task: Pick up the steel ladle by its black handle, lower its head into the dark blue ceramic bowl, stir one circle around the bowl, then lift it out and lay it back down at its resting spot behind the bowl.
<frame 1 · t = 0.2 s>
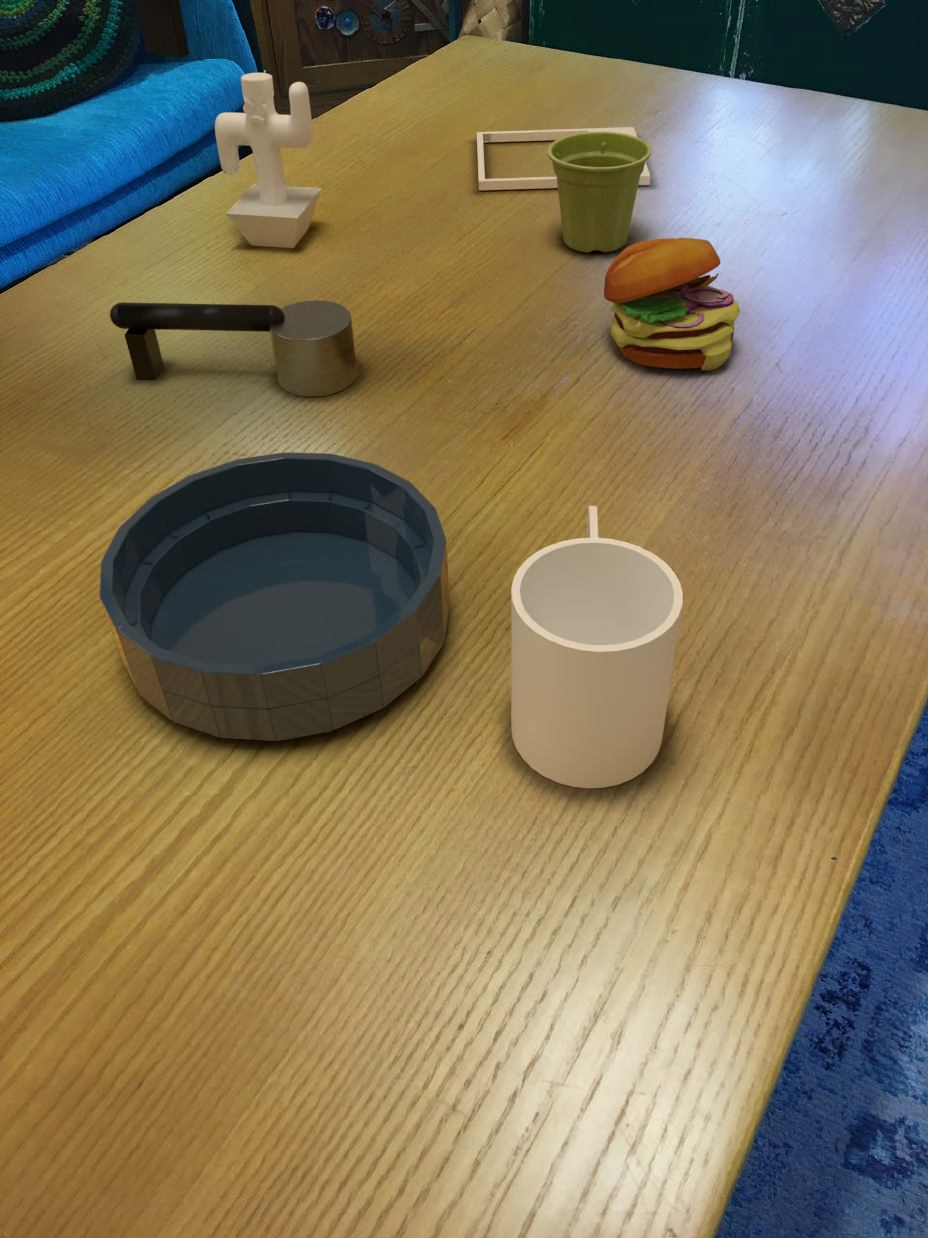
hand: (248, 24, 65), 27 cm above the table, tool pointing down, fingers open, 13 cm apart
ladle: (317, 376, 86), on the table
cheeseburger: (665, 348, 88), on the table
figurine: (280, 239, 106), on the table
photo frame: (559, 163, 117), on the table
bowl: (289, 626, 65), on the table
plant pot: (594, 242, 103), on the table
cup: (585, 704, 60), on the table
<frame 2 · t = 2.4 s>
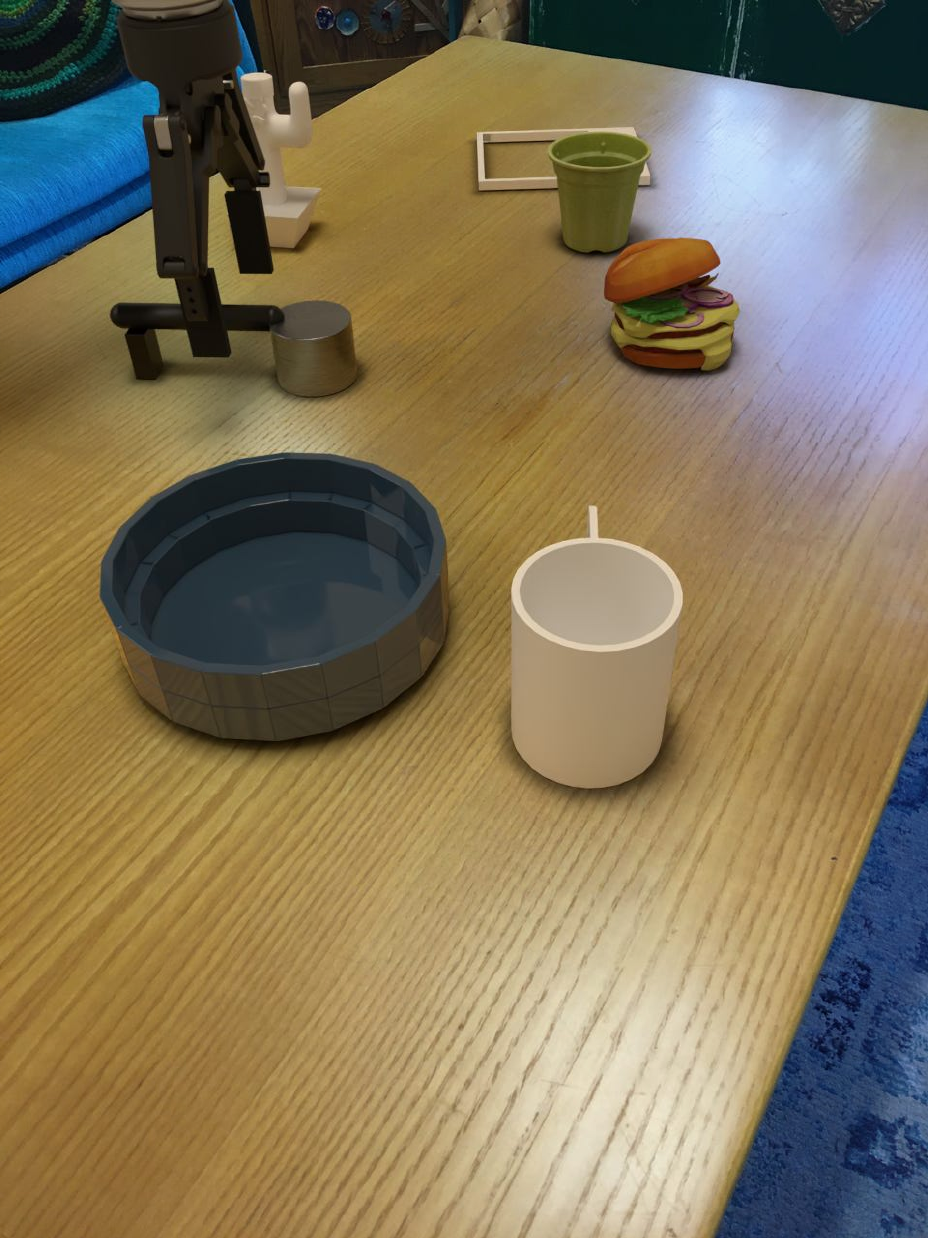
hand: (236, 311, 82), 6 cm above the table, tool pointing down, fingers open, 13 cm apart
nothing on the table moved.
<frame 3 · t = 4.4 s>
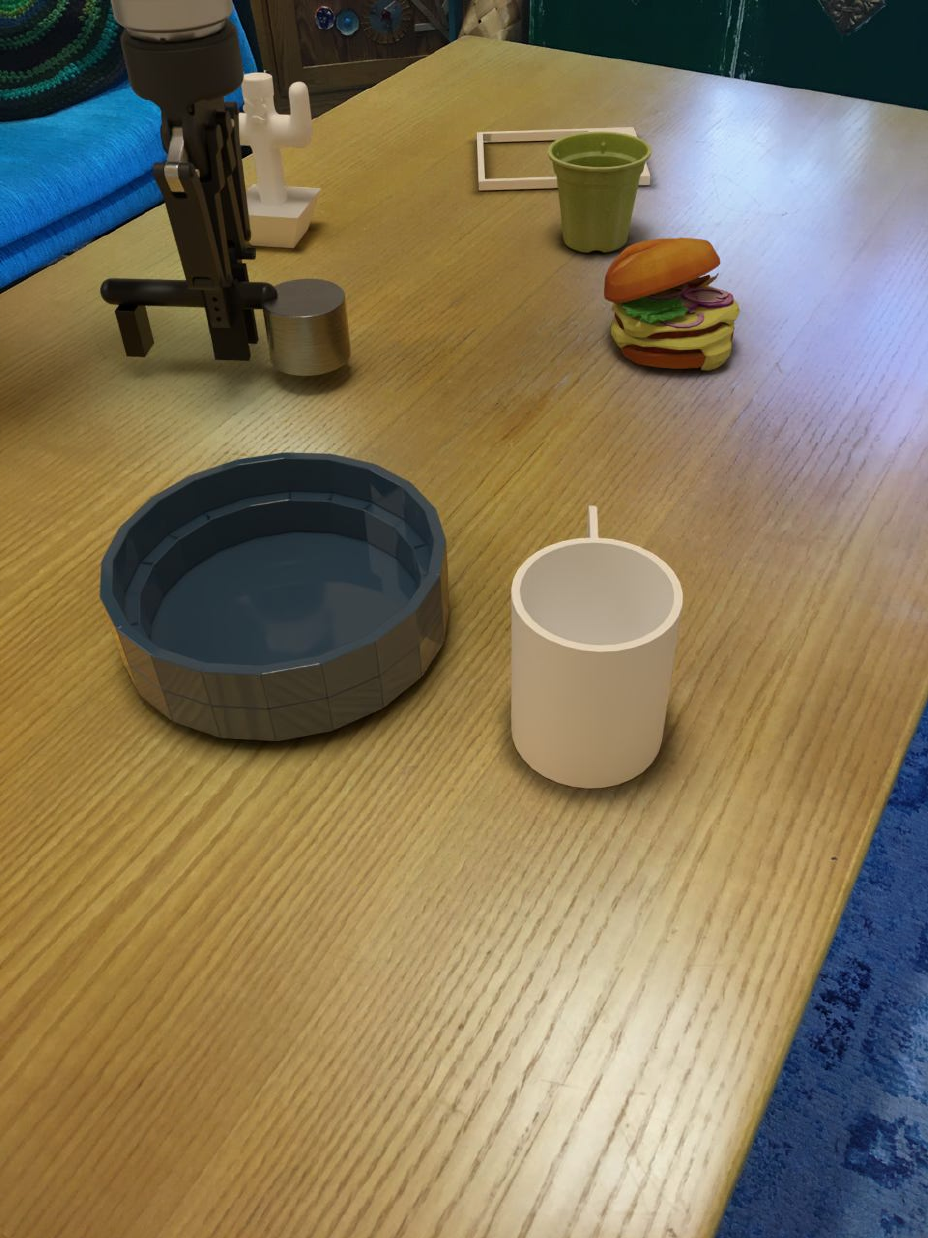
hand: (237, 349, 85), 2 cm above the table, tool pointing down, fingers closed on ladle, 2 cm apart
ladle: (310, 355, 85), point 2 cm above the table, touching gripper
everything else where it was.
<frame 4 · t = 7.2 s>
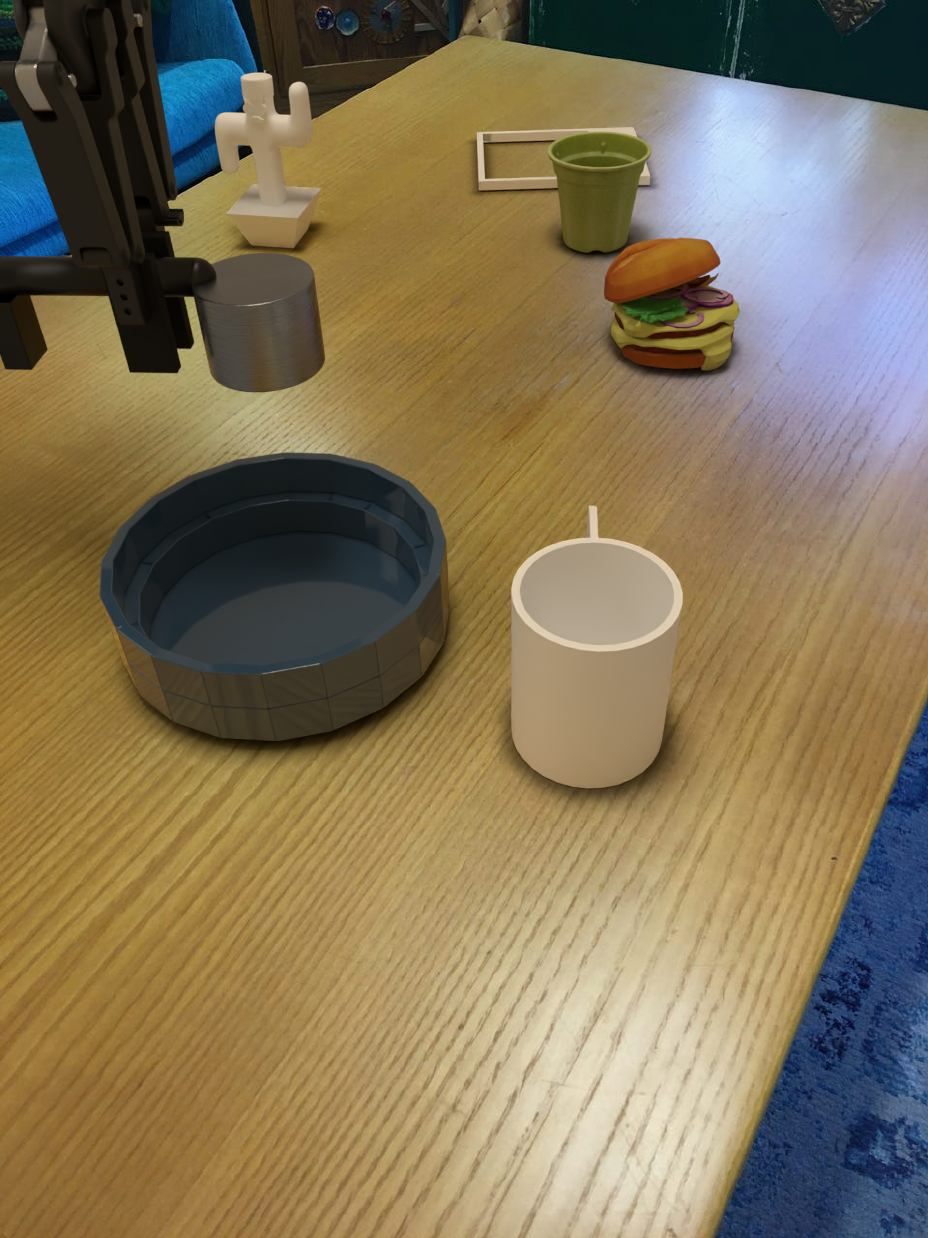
hand: (162, 356, 60), 15 cm above the table, tool pointing down, fingers closed on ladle, 2 cm apart
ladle: (267, 363, 59), point 14 cm above the table, touching gripper
everything else where it was.
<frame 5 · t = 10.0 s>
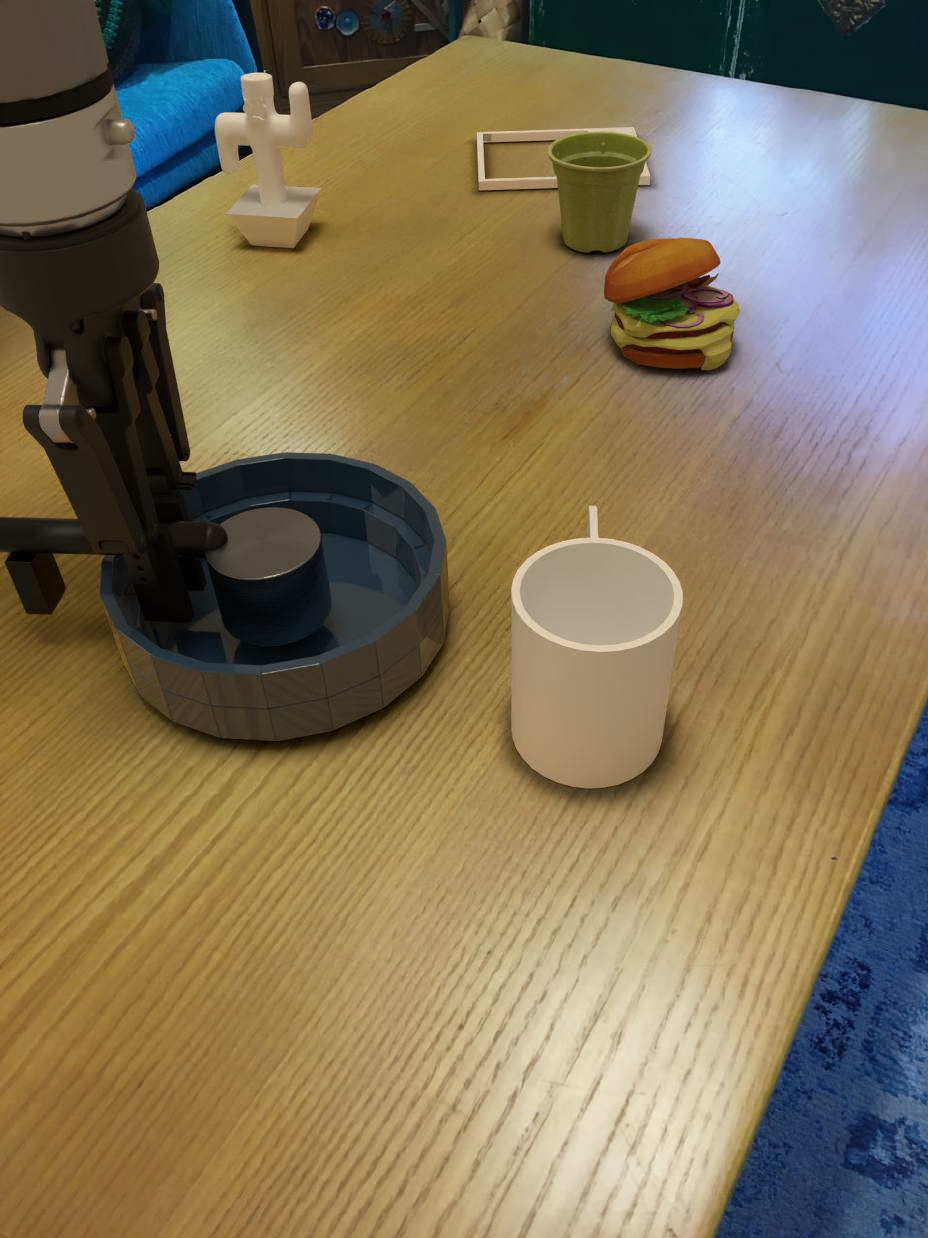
hand: (176, 601, 62), 3 cm above the table, tool pointing down, fingers closed on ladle, 2 cm apart
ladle: (277, 608, 62), point 3 cm above the table, touching gripper
everything else where it was.
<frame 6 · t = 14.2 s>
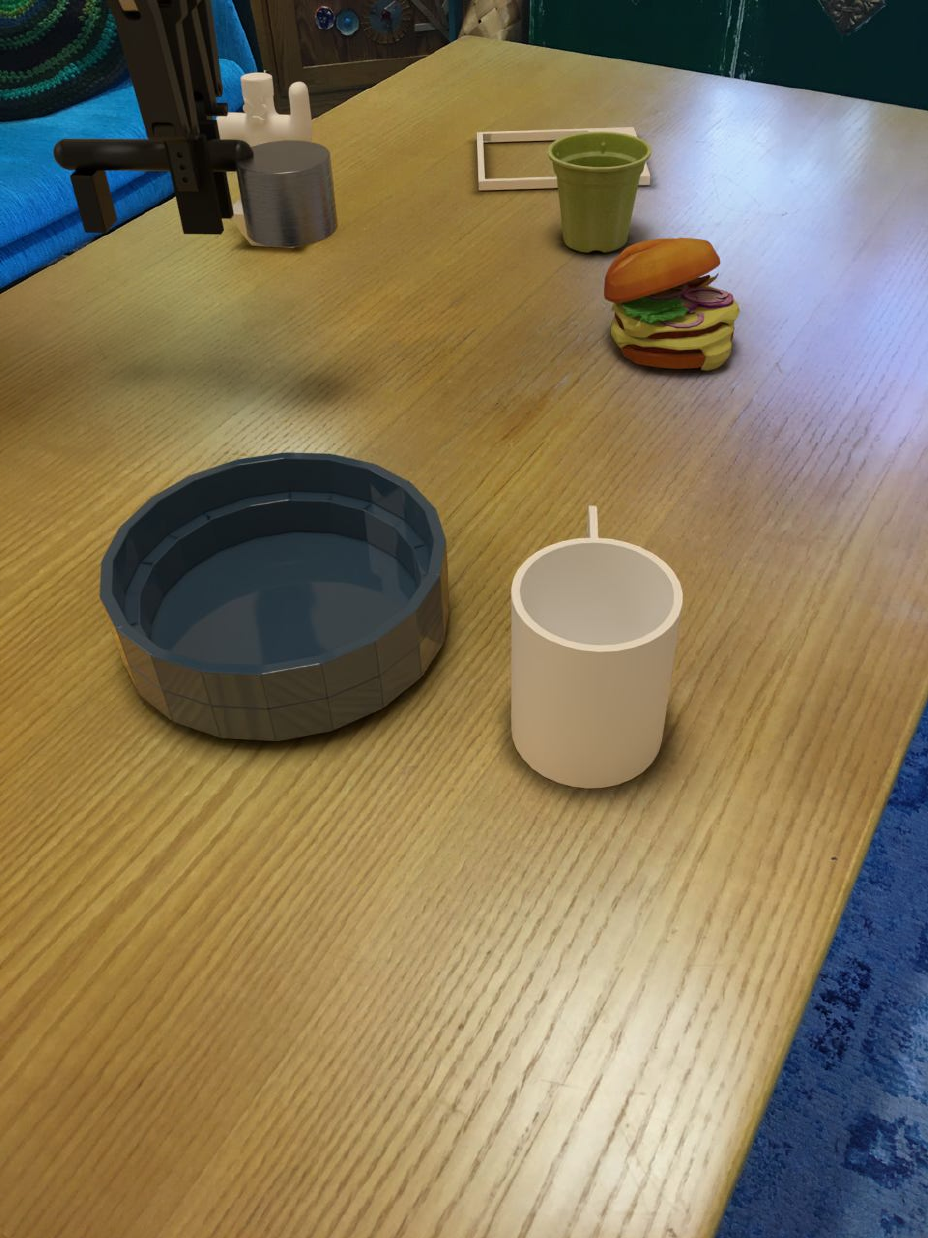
hand: (209, 223, 75), 14 cm above the table, tool pointing down, fingers closed on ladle, 2 cm apart
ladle: (292, 229, 75), point 13 cm above the table, touching gripper
everything else where it was.
when the fingers open (0 cm above the table, at t = 17.3 s): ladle stays where it is, on the table.
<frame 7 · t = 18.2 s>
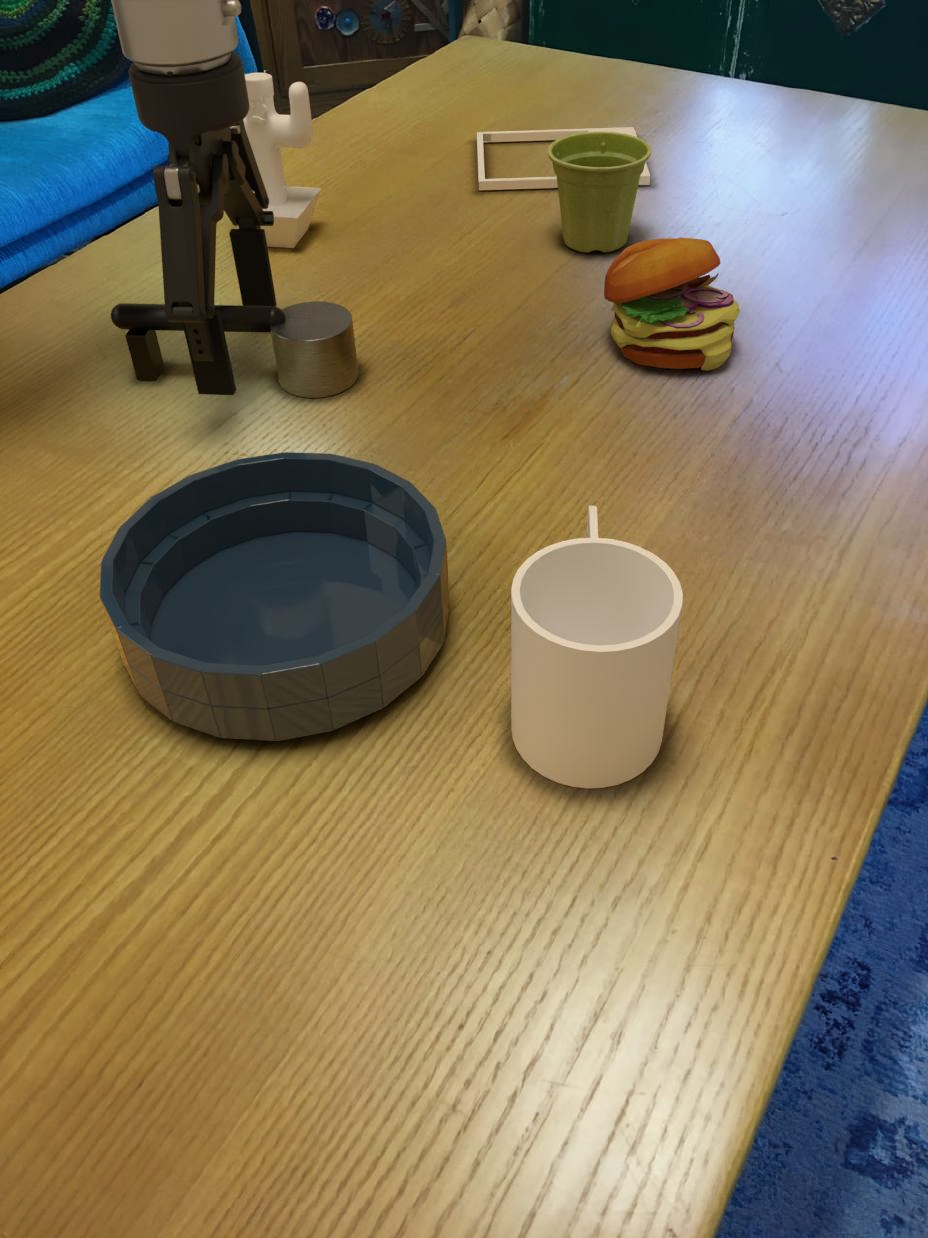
hand: (240, 347, 85), 2 cm above the table, tool pointing down, fingers open, 13 cm apart
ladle: (318, 377, 86), on the table
everything else where it was.
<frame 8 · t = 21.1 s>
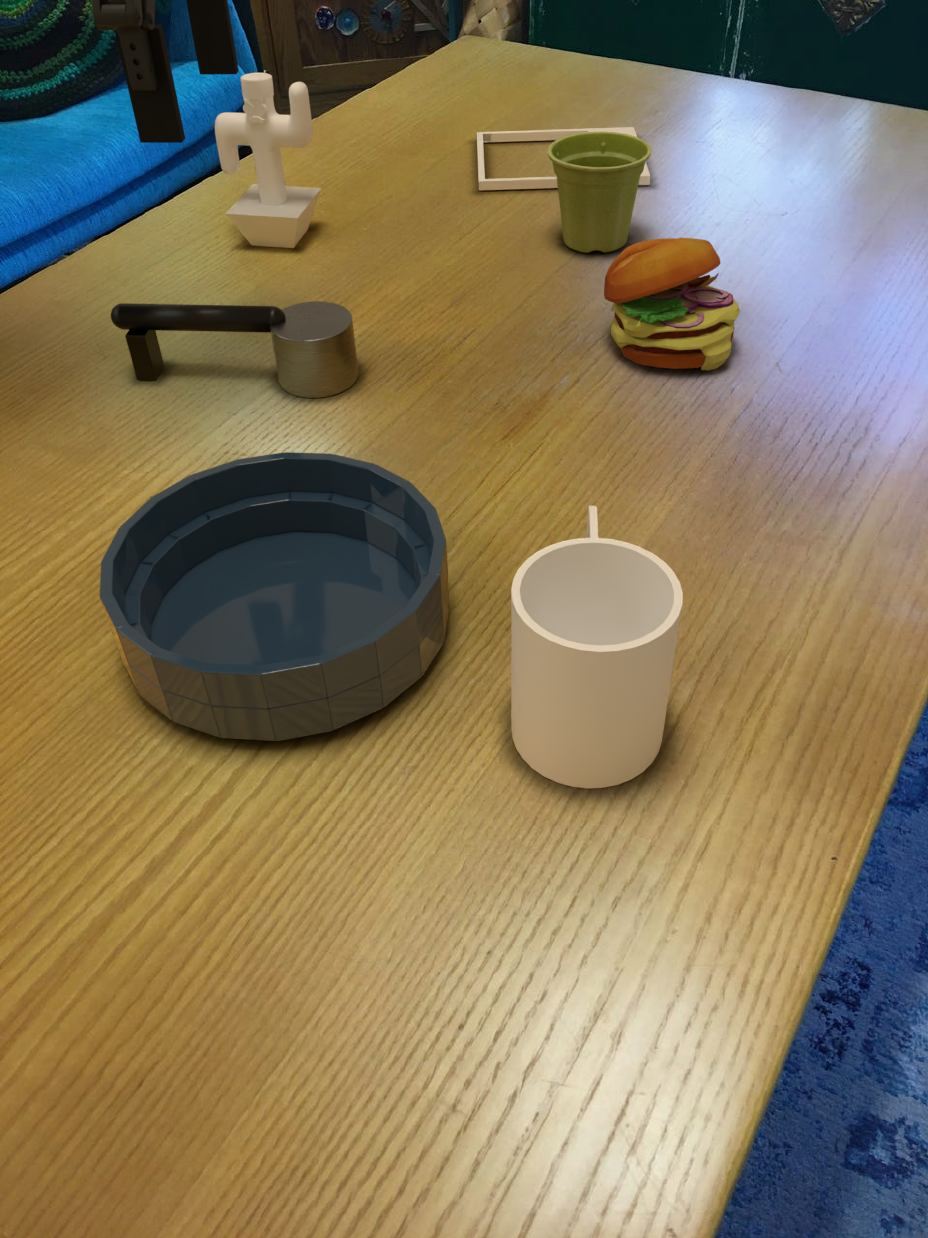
hand: (193, 104, 72), 21 cm above the table, tool pointing down, fingers open, 13 cm apart
nothing on the table moved.
at the end: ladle tilted 0°; the gripper is holding nothing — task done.
